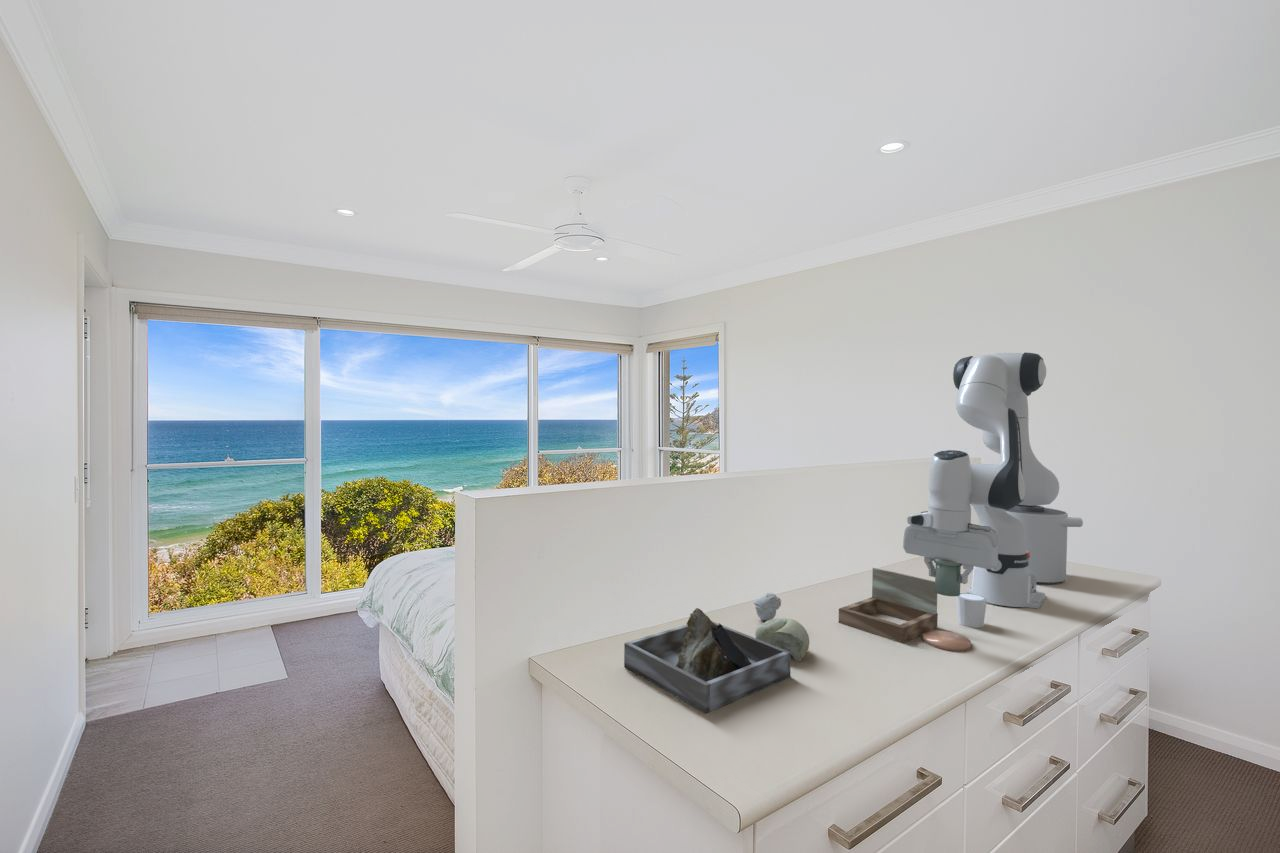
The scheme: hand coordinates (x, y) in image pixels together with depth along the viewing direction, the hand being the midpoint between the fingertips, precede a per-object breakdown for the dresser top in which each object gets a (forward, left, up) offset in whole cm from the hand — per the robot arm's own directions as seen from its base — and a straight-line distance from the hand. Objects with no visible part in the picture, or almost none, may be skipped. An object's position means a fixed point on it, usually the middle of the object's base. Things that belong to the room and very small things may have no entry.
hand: (947, 579), depth 138 cm
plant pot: (0, 0, -3) cm, 3 cm away
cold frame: (0, -15, -15) cm, 21 cm away
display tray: (+56, -23, -15) cm, 62 cm away
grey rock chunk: (+22, -35, -15) cm, 44 cm away
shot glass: (-18, -2, -15) cm, 24 cm away
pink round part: (0, 0, -15) cm, 15 cm away
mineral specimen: (+56, -20, -14) cm, 61 cm away
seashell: (+35, -20, -15) cm, 43 cm away
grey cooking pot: (-81, -8, -15) cm, 83 cm away
